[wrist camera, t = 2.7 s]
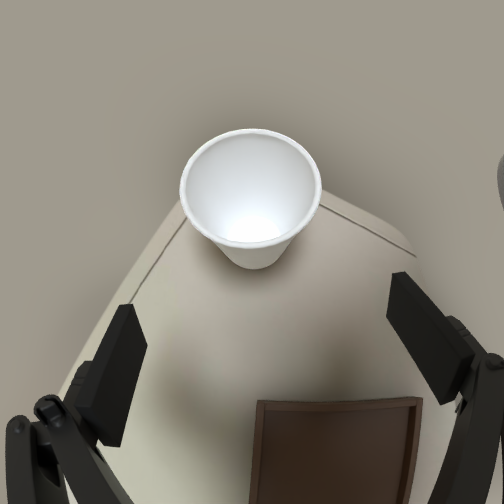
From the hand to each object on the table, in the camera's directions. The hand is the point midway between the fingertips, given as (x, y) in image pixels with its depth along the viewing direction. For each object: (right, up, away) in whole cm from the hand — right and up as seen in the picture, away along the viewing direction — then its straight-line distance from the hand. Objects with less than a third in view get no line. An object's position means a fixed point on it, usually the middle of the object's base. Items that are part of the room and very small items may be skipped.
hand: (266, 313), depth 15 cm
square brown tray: (+7, -18, +8) cm, 21 cm away
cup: (-1, +4, +17) cm, 17 cm away
